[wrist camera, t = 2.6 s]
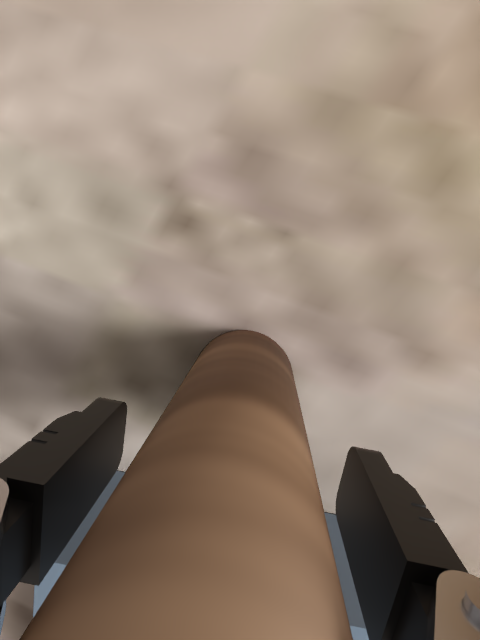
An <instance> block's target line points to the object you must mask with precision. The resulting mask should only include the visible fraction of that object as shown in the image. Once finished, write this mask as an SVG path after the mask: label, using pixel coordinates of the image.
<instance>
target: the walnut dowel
mask: <svg viewBox="0 0 480 640" xmlns="http://www.w3.org/2000/svg"><path fill="white" fill-rule="evenodd" d="M20 640H353V638H352V633H351V629H350V624H349V620H348V615H347V611H346V607H345V602H344V598H343V593H342V589H341V584H340V580H339V576H338V571H337V567H336V562H335V558H334V554H333V549H332V545H331V540H330V536H329V531H328V527H327V523H326V518H325V514H324V509H323V505H322V501H321V496H320V492H319V487H318V483H317V478H316V474H315V470H314V465H313V461H312V456H311V452H310V447H309V443H308V439H307V434H306V430H305V425H304V421H303V417H302V412H301V408H300V403H299V399H298V394H297V390H296V386H295V381H294V377H293V372H292V368H291V364H290V361H289V359H288V357H287V355H286V354H285V352H284V351H283V349H282V348H281V347H280V346H279V345H278V344H277V343H276V342H275V341H274V340H272V339H271V338H269V337H267V336H265V335H263V334H261V333H258V332H254V331H248V330H237V331H231V332H227V333H224V334H222V335H220V336H218V337H216V338H215V339H213V340H212V341H211V342H210V343H209V344H208V345H207V346H206V347H205V348H204V349H203V351H202V352H201V354H200V355H199V357H198V359H197V360H196V362H195V363H194V365H193V366H192V368H191V370H190V371H189V373H188V374H187V376H186V378H185V379H184V381H183V382H182V384H181V385H180V387H179V389H178V390H177V392H176V393H175V395H174V396H173V398H172V400H171V401H170V403H169V404H168V406H167V408H166V409H165V411H164V412H163V414H162V415H161V417H160V419H159V420H158V422H157V423H156V425H155V426H154V428H153V430H152V431H151V433H150V434H149V436H148V437H147V439H146V441H145V442H144V444H143V445H142V447H141V449H140V450H139V452H138V453H137V455H136V456H135V458H134V460H133V461H132V463H131V464H130V466H129V467H128V469H127V471H126V472H125V474H124V475H123V477H122V479H121V480H120V482H119V483H118V485H117V486H116V488H115V490H114V491H113V493H112V494H111V496H110V497H109V499H108V501H107V502H106V504H105V505H104V507H103V509H102V510H101V512H100V513H99V515H98V516H97V518H96V520H95V521H94V523H93V524H92V526H91V527H90V529H89V531H88V532H87V534H86V535H85V537H84V539H83V540H82V542H81V543H80V545H79V546H78V548H77V550H76V551H75V553H74V554H73V556H72V557H71V559H70V561H69V562H68V564H67V565H66V567H65V569H64V570H63V572H62V573H61V575H60V576H59V578H58V580H57V581H56V583H55V584H54V586H53V587H52V589H51V591H50V592H49V594H48V595H47V597H46V599H45V600H44V602H43V603H42V605H41V606H40V608H39V610H38V611H37V613H36V614H35V616H34V617H33V619H32V621H31V622H30V624H29V625H28V627H27V629H26V630H25V632H24V633H23V635H22V636H21V638H20Z"/></svg>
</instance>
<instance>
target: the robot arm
mask: <svg viewBox="0 0 480 640" xmlns="http://www.w3.org/2000/svg"><path fill="white" fill-rule="evenodd" d="M126 415H127V405H126V403H125V402H121V401H116V400H111V399H106V398H97V399H96V400H95V401H94V402H93V403H92V404H90V405H89V406H88V407H87V408H86V409H85V410H84V411H82V412H78V411H74V412H72V413H69V414H67V415H65V416H62V417H60V418H57V419H56V420H55V421H53V422H52V423H51V424H50V425H48V426H47V427H46V428H45V429H44V430H43V432H40V433H38V434H37V435H36V436H35V437H33V438H32V440H31V441H28V442H27V443H26V444H25V445H23V446H22V447H21V448H20V449H18V450H17V451H16V452H15V453H13V454H12V455H11V456H10V457H8V458H7V459H6V460H5V461H3V462H2V463H1V464H0V634H1V629H2V625H3V620H4V615H5V610H6V599H7V597H8V596H9V595H10V593H11V592H12V591H13V589H14V588H15V587H16V585H17V584H18V583H19V582H24V583H28V584H33V585H37V586H39V585H40V583H41V582H42V580H43V579H44V577H45V576H46V575H47V573H48V572H49V570H50V569H51V567H52V566H53V564H54V563H55V561H56V560H57V558H58V557H59V555H60V554H61V552H62V551H63V549H64V548H65V547H66V545H67V544H68V542H69V541H70V539H71V538H72V536H73V535H74V533H75V532H76V530H77V529H78V527H79V526H80V524H81V523H82V521H83V520H84V519H85V517H86V516H87V514H88V513H89V511H90V510H91V508H92V507H93V505H94V504H95V502H96V501H97V499H98V498H99V496H100V495H101V493H102V492H103V491H104V489H105V488H106V486H107V485H108V483H109V482H110V480H111V479H112V477H113V476H114V474H115V473H116V471H117V469H118V466H119V463H120V460H121V457H122V452H123V444H124V434H125V425H126ZM336 517H337V522H338V526H339V529H340V533H341V537H342V541H343V544H344V548H345V552H346V556H347V559H348V563H349V567H350V571H351V574H352V578H353V582H354V586H355V589H356V593H357V597H358V601H359V604H360V608H361V612H362V615H363V619H364V623H365V627H366V630H367V634H368V638H369V640H480V578H478V577H476V576H474V575H471V574H469V573H468V572H467V570H466V568H465V567H464V565H463V564H462V562H461V560H460V559H459V557H458V556H457V554H456V553H455V551H454V549H453V548H452V546H451V545H450V543H449V542H448V540H447V538H446V537H445V535H444V534H443V532H442V530H441V529H440V527H439V526H438V524H437V523H435V522H434V520H435V519H434V518H433V516H432V515H431V513H430V511H429V510H428V509H426V505H425V504H424V502H423V500H422V499H421V497H420V496H419V494H418V493H417V491H416V489H415V488H413V487H412V486H411V485H410V484H409V483H408V482H407V481H406V480H405V479H404V478H403V477H401V476H400V475H399V474H394V473H393V472H392V470H391V469H390V467H389V465H388V463H387V462H386V460H385V458H384V457H383V455H382V453H381V452H379V451H373V450H368V449H363V448H358V447H351V448H350V450H349V452H348V455H347V458H346V462H345V466H344V470H343V474H342V477H341V481H340V485H339V489H338V492H337V498H336Z"/></svg>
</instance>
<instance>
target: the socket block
mask: <svg viewBox="0 0 480 640" xmlns="http://www.w3.org/2000/svg"><path fill="white" fill-rule="evenodd" d="M124 474H125V472H121V471H116V473H115V474H114V476H113V477H112V479H111V480H110V482H109V483H108V485H107V486H106V488H105V489H104V491H103V492H102V493H101V495H100V496H99V498H98V499H97V501H96V502H95V504H94V505H93V507H92V508H91V510H90V511H89V513H88V514H87V516H86V517H85V519H84V520H83V521H82V523H81V524H80V526H79V527H78V529H77V530H76V532H75V533H74V535H73V536H72V538H71V539H70V541H69V542H68V544H67V545H66V547H65V548H64V549H63V551H62V552H61V554H60V555H59V557H58V558H57V560H56V561H55V563H54V564H53V566H52V567H51V569H50V570H49V572H48V573H47V575H46V576H45V577H44V579H43V580H42V582H41V583H40V585H39V586H37V585H35V587H34V608H33V617H34V616H35V614H36V613H37V611H38V610H39V608H40V606H41V605H42V603H43V602H44V600H45V599H46V597H47V595H48V594H49V592H50V591H51V589H52V587H53V586H54V584H55V583H56V581H57V580H58V578H59V576H60V575H61V573H62V572H63V570H64V569H65V567H66V565H67V564H68V562H69V561H70V559H71V557H72V556H73V554H74V553H75V551H76V550H77V548H78V546H79V545H80V543H81V542H82V540H83V539H84V537H85V535H86V534H87V532H88V531H89V529H90V527H91V526H92V524H93V523H94V521H95V520H96V518H97V516H98V515H99V513H100V512H101V510H102V509H103V507H104V505H105V504H106V502H107V501H108V499H109V497H110V496H111V494H112V493H113V491H114V490H115V488H116V486H117V485H118V483H119V482H120V480H121V479H122V477H123V475H124ZM324 514H325V518H326V523H327V527H328V531H329V536H330V540H331V545H332V549H333V554H334V558H335V562H336V567H337V571H338V576H339V580H340V584H341V589H342V593H343V598H344V602H345V607H346V611H347V615H348V620H349V624H350V629H351V633H352V638H353V640H369V638H368V634H367V630H366V627H365V623H364V619H363V615H362V612H361V608H360V604H359V601H358V597H357V593H356V589H355V586H354V582H353V578H352V574H351V571H350V567H349V563H348V559H347V556H346V552H345V548H344V544H343V541H342V537H341V533H340V529H339V526H338V522H337V517H336V515H335V514H330V513H325V512H324Z"/></svg>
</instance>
